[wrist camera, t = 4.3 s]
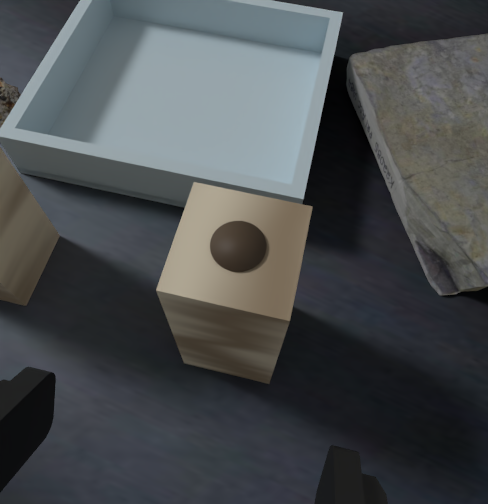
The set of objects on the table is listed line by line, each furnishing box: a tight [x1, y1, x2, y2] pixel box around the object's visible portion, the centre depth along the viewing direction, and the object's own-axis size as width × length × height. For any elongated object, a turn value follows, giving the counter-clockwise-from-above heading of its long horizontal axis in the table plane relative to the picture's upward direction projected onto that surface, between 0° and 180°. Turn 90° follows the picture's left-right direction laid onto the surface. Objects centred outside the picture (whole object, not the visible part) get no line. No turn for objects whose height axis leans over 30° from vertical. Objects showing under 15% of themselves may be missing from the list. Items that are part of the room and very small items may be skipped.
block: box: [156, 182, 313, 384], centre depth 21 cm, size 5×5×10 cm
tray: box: [0, 0, 343, 208], centre depth 31 cm, size 18×16×4 cm
